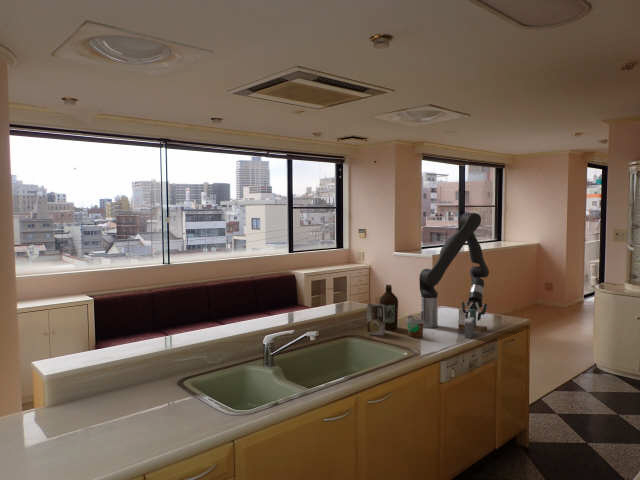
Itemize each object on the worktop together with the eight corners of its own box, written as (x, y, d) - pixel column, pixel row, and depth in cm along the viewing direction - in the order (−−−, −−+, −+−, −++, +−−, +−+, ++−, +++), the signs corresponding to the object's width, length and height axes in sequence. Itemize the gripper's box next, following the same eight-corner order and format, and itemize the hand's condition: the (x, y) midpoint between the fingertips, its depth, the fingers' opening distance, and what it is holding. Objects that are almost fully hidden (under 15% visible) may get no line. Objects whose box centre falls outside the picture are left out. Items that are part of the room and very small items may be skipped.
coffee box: (385, 332, 267) (385, 303, 266) (383, 335, 261) (383, 306, 260) (368, 331, 269) (368, 303, 268) (366, 334, 263) (366, 305, 262)
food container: (401, 334, 263) (401, 316, 262) (411, 333, 265) (411, 315, 264) (413, 339, 251) (413, 321, 251) (424, 338, 254) (424, 319, 253)
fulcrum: (464, 337, 254) (464, 320, 253) (468, 333, 263) (468, 316, 262) (470, 338, 252) (470, 321, 252) (473, 333, 261) (473, 317, 261)
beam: (458, 329, 272) (458, 309, 272) (459, 327, 275) (459, 308, 274) (486, 331, 265) (486, 311, 265) (487, 330, 268) (487, 310, 267)
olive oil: (380, 325, 282) (380, 283, 281) (398, 326, 280) (398, 283, 279) (378, 330, 272) (378, 286, 270) (398, 331, 270) (397, 286, 268)
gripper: (462, 289, 279) (458, 314, 269) (488, 291, 272) (485, 316, 262) (464, 297, 284) (460, 321, 274) (489, 299, 277) (486, 324, 267)
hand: (472, 319), depth 268 cm, fingers open, 5 cm apart
